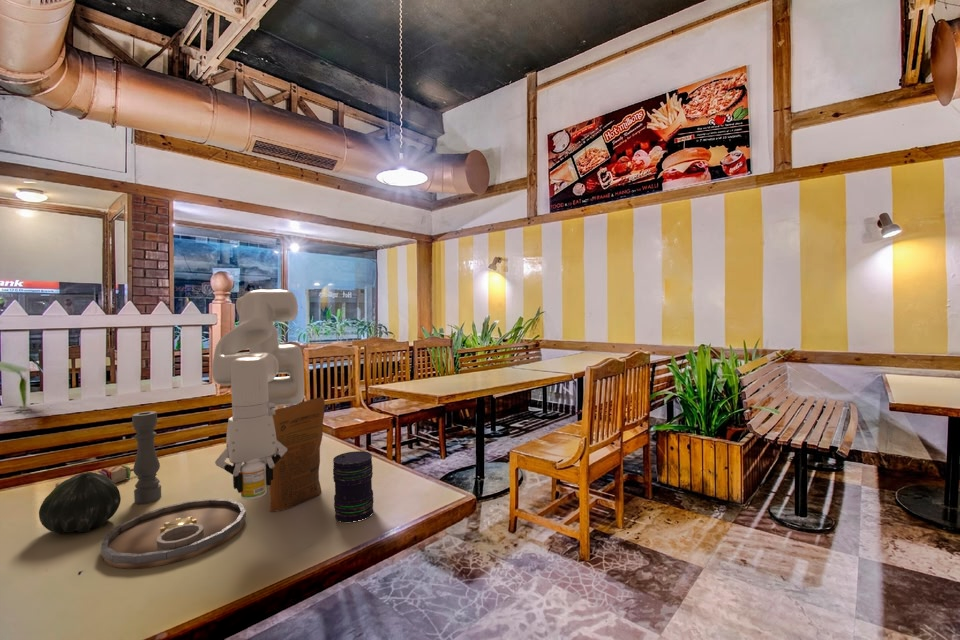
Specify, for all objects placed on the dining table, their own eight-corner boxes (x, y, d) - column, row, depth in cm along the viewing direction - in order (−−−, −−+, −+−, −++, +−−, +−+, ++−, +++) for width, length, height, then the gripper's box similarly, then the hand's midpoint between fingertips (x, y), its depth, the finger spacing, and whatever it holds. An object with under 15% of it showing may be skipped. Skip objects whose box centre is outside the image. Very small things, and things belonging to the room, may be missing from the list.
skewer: (62, 500, 128) (61, 483, 128) (53, 496, 131) (53, 480, 131) (144, 476, 146) (144, 461, 146) (135, 473, 149) (134, 459, 149)
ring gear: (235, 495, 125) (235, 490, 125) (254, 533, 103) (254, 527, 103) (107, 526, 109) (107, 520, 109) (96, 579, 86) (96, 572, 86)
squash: (63, 496, 117) (44, 466, 108) (132, 488, 123) (119, 459, 114) (42, 551, 108) (19, 523, 98) (118, 539, 113) (103, 512, 104)
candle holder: (146, 505, 123) (143, 416, 123) (128, 503, 125) (125, 415, 124) (166, 495, 129) (163, 411, 129) (149, 494, 131) (145, 410, 130)
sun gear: (195, 519, 111) (195, 513, 111) (197, 530, 105) (197, 524, 105) (160, 528, 107) (159, 522, 107) (160, 540, 101) (160, 534, 101)
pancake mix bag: (334, 491, 130) (331, 396, 129) (275, 517, 114) (271, 410, 113) (319, 486, 133) (316, 395, 133) (260, 512, 117) (256, 407, 117)
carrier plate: (235, 499, 125) (235, 486, 125) (254, 538, 103) (254, 523, 103) (107, 531, 109) (106, 516, 109) (96, 585, 86) (95, 567, 86)
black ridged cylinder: (381, 508, 118) (379, 452, 117) (359, 525, 108) (357, 465, 108) (349, 503, 121) (348, 449, 121) (326, 520, 112) (324, 461, 111)
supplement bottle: (247, 490, 105) (245, 450, 105) (270, 489, 106) (269, 449, 105) (236, 500, 100) (235, 458, 99) (261, 499, 100) (259, 457, 100)
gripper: (286, 402, 110) (288, 473, 111) (205, 413, 100) (209, 491, 101) (294, 407, 104) (296, 482, 105) (209, 420, 94) (213, 503, 95)
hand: (253, 486), depth 103 cm, fingers closed on supplement bottle, 5 cm apart
